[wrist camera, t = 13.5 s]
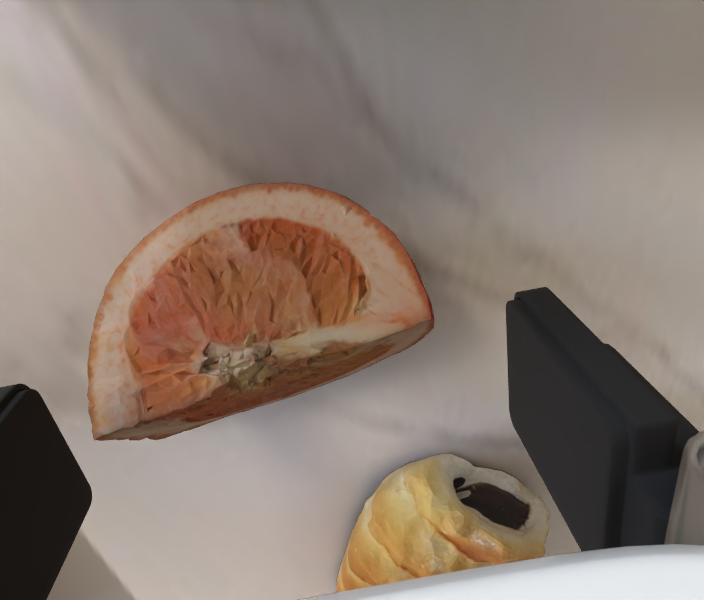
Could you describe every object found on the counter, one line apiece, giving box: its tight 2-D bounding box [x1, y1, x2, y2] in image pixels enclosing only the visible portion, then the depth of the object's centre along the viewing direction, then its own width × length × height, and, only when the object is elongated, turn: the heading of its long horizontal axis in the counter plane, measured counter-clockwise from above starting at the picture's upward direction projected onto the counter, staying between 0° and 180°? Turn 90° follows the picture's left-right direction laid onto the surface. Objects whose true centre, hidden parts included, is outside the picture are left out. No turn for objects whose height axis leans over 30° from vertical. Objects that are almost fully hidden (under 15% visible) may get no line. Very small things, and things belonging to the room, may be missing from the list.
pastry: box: [337, 454, 549, 592], centre depth 20 cm, size 9×7×4 cm
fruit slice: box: [87, 183, 434, 441], centre depth 13 cm, size 8×7×5 cm
